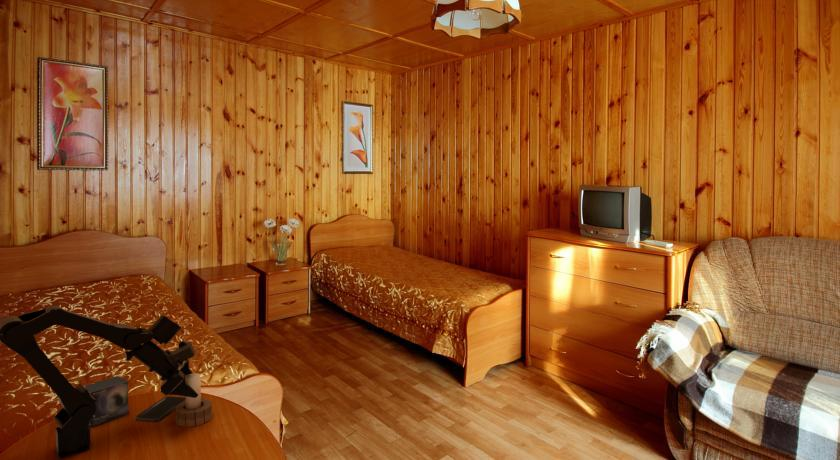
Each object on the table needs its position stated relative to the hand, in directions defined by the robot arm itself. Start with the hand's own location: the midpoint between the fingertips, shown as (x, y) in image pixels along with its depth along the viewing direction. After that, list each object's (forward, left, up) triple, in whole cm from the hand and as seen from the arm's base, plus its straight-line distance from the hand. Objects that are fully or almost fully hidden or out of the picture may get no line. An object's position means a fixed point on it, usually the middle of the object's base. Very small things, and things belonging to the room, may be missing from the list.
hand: (198, 390), depth 143 cm
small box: (-20, +17, -9) cm, 28 cm away
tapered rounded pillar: (-1, 0, -9) cm, 9 cm away
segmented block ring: (-1, 0, -9) cm, 9 cm away
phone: (-6, +12, -9) cm, 17 cm away
